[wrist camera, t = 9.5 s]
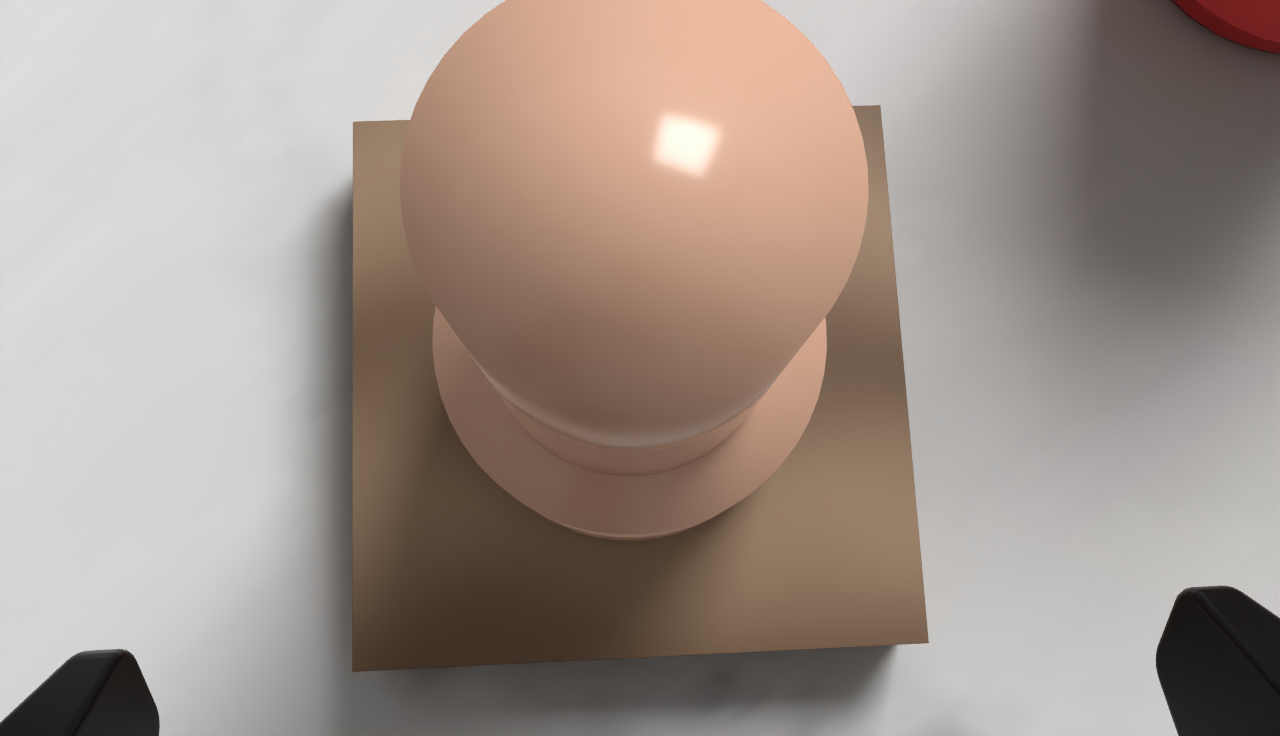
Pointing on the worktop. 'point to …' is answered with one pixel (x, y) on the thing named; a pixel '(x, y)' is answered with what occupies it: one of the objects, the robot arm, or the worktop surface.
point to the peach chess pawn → (632, 250)
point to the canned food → (1239, 20)
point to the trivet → (621, 570)
